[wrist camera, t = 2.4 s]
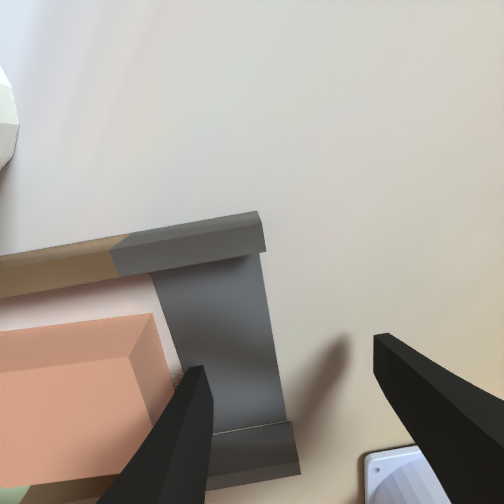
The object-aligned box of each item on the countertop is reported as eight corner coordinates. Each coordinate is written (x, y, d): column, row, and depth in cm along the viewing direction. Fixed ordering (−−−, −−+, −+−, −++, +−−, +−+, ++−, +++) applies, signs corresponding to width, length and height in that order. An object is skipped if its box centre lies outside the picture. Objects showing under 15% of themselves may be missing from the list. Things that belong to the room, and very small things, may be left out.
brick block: (180, 404, 14) (166, 467, 11) (50, 421, 14) (2, 489, 11) (154, 309, 12) (128, 356, 9) (-1, 328, 12) (-76, 382, 9)
